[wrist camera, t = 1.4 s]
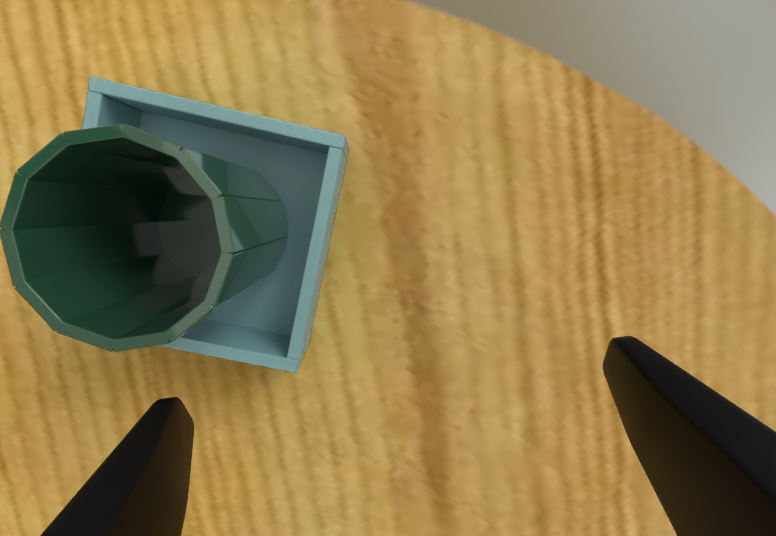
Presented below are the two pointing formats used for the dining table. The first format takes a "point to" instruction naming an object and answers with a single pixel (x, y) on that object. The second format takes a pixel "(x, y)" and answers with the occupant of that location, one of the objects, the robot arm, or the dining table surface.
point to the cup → (136, 235)
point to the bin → (289, 180)
